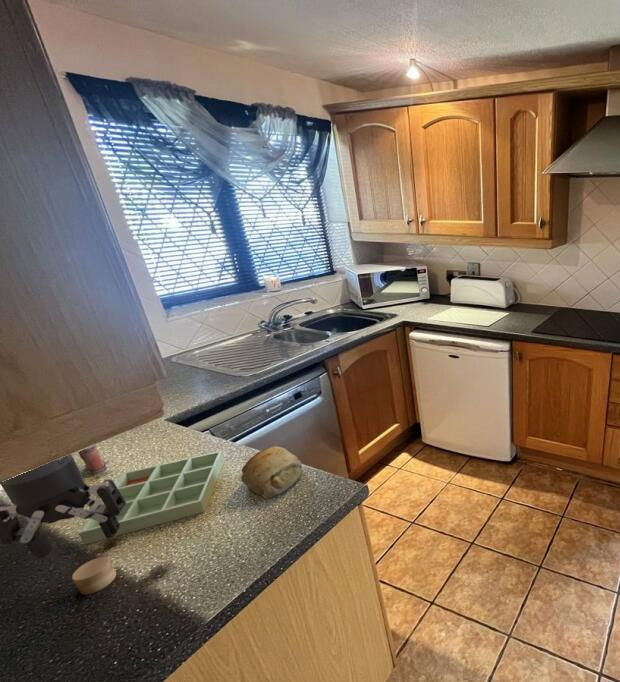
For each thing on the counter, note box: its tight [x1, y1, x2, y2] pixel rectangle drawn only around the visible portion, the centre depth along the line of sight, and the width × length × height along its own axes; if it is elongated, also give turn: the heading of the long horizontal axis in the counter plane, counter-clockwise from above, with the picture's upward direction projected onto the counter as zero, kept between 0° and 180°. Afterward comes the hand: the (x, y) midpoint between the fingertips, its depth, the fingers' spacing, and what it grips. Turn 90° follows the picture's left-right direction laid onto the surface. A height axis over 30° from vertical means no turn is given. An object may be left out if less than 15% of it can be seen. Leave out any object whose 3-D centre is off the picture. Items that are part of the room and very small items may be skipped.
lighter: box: [77, 444, 108, 476], centre depth 97 cm, size 8×3×10 cm, turn 55°
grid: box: [77, 450, 226, 545], centre depth 88 cm, size 20×20×3 cm
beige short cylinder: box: [71, 556, 117, 595], centre depth 68 cm, size 5×5×4 cm
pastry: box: [240, 445, 303, 500], centre depth 92 cm, size 14×12×8 cm
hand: (80, 543), depth 66 cm, fingers open, 8 cm apart
